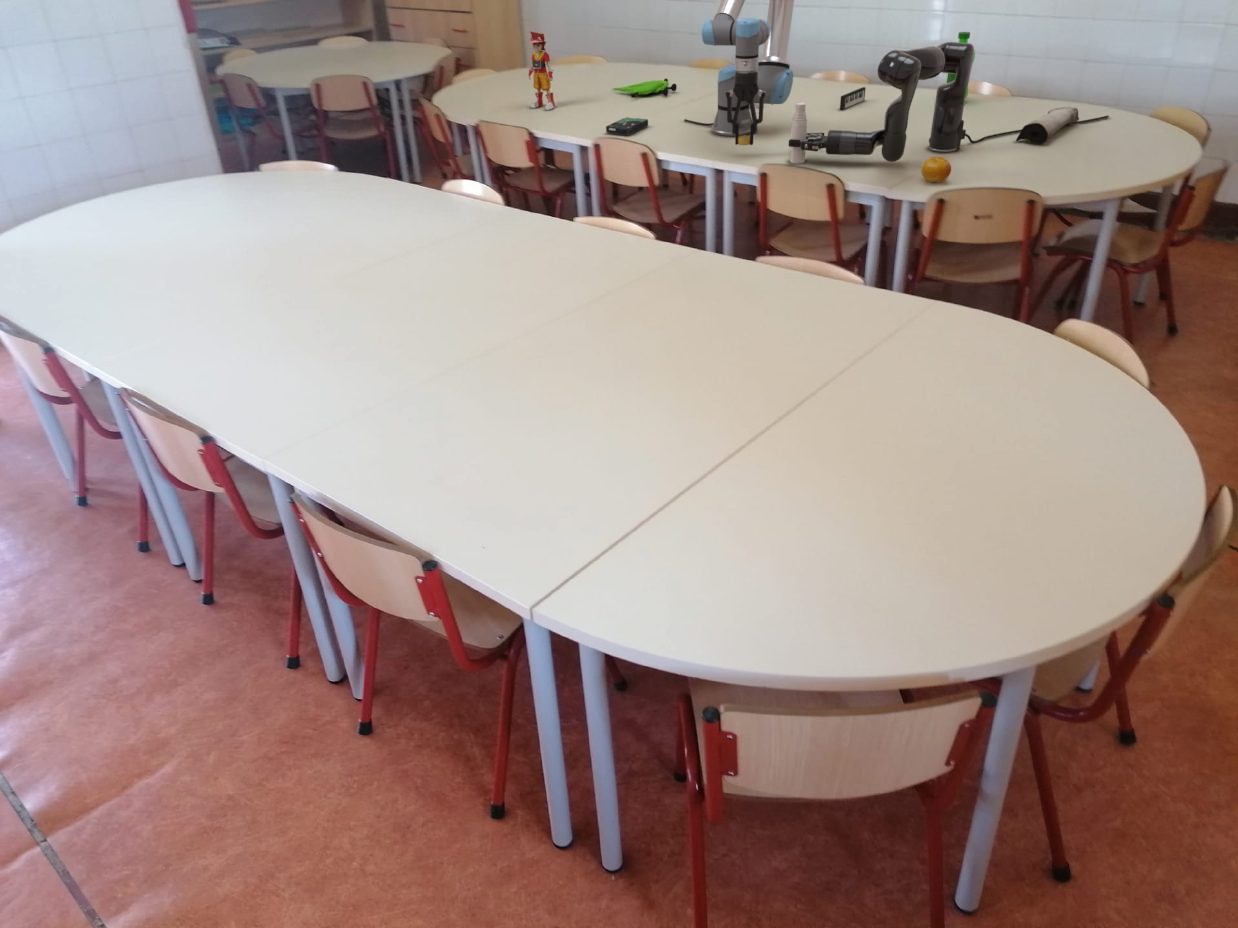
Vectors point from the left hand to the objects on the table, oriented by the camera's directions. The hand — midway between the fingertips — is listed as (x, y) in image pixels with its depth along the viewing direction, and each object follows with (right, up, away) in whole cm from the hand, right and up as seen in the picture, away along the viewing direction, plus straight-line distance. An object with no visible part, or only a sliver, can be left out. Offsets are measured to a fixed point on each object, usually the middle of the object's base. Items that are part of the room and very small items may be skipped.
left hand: (744, 143), depth 308 cm
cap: (0, +2, -1) cm, 2 cm away
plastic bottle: (+90, +33, +47) cm, 107 cm away
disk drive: (-40, +19, +38) cm, 58 cm away
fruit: (+55, -22, -30) cm, 67 cm away
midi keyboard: (+51, +34, +51) cm, 80 cm away
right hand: (+14, -2, -9) cm, 17 cm away
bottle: (+17, -8, -6) cm, 20 cm away
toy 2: (-33, +55, +89) cm, 110 cm away
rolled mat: (+107, +5, +5) cm, 107 cm away
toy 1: (-76, +42, +75) cm, 115 cm away
